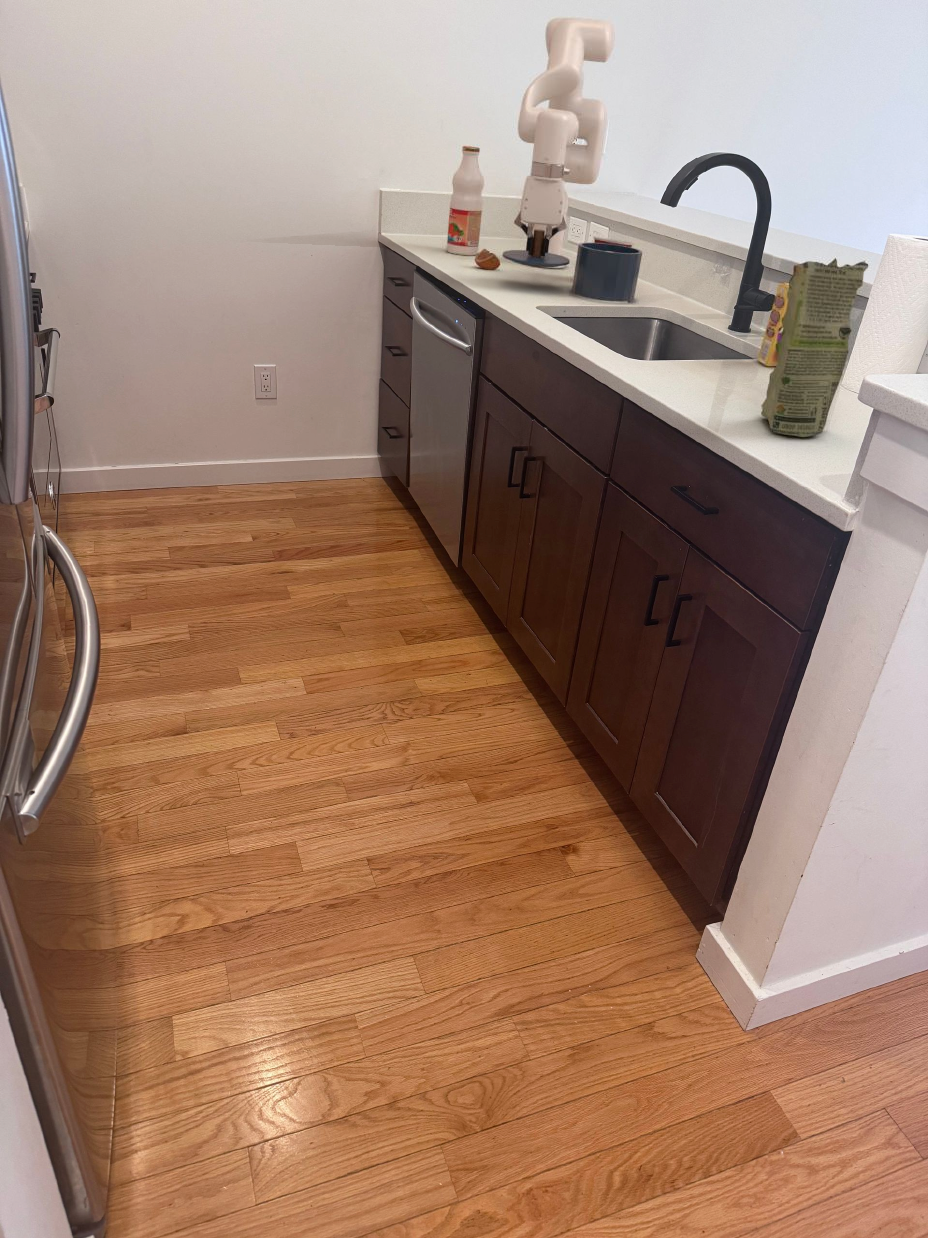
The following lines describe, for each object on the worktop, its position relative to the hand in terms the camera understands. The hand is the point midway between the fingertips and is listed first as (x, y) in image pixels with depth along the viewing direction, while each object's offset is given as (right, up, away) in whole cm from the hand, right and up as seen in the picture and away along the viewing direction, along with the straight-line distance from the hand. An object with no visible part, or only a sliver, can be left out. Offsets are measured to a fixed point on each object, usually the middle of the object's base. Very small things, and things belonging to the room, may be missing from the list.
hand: (536, 254), depth 215 cm
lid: (0, -1, +1) cm, 1 cm away
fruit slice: (-12, +5, +23) cm, 26 cm away
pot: (+17, -8, +5) cm, 20 cm away
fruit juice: (-18, +19, +46) cm, 53 cm away
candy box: (+45, -39, -41) cm, 72 cm away
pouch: (+33, -60, -77) cm, 103 cm away
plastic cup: (+20, -1, +19) cm, 28 cm away
